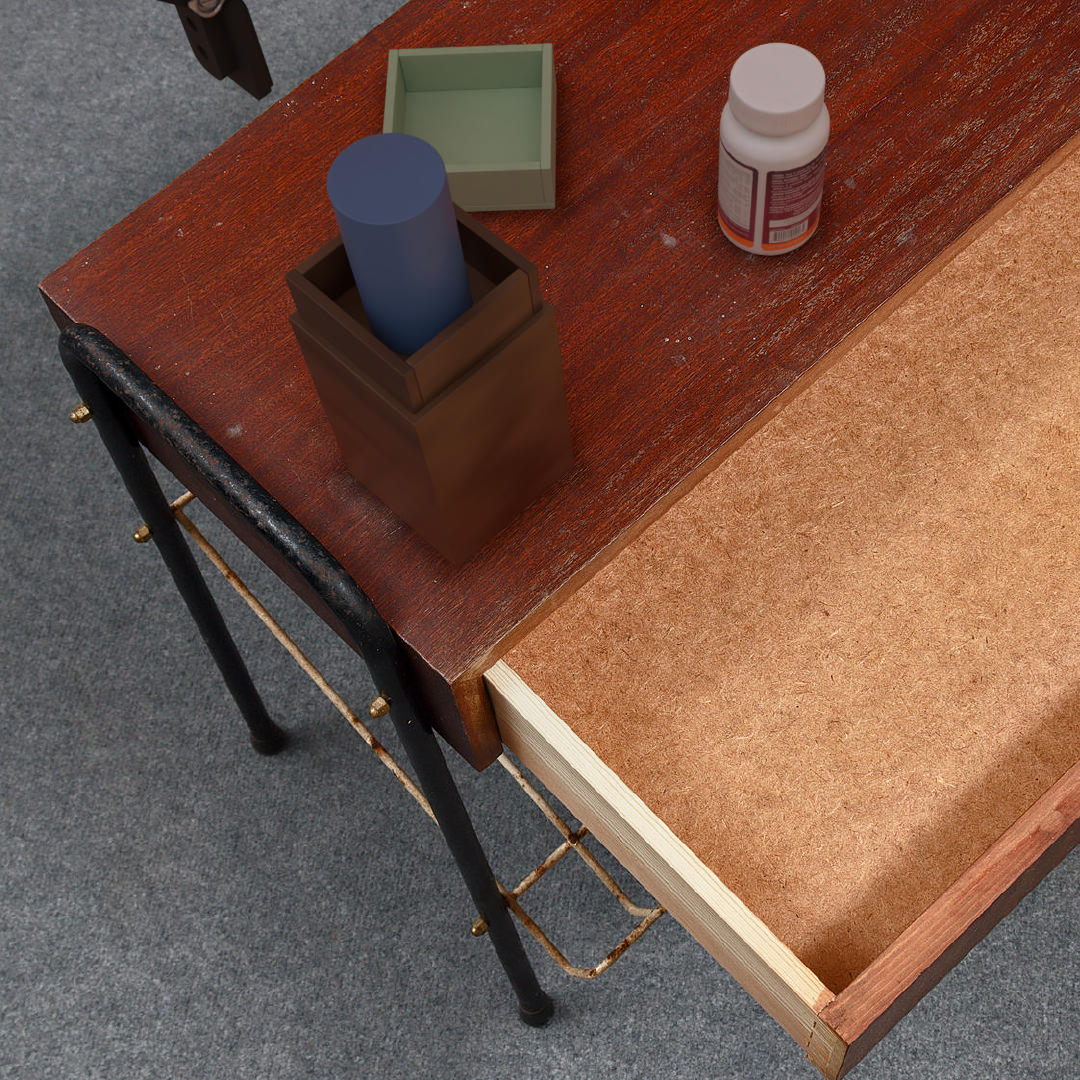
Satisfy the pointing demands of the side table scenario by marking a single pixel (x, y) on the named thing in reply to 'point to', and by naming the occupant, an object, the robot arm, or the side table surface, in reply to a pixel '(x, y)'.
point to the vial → (400, 237)
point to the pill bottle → (773, 149)
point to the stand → (442, 394)
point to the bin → (481, 119)
